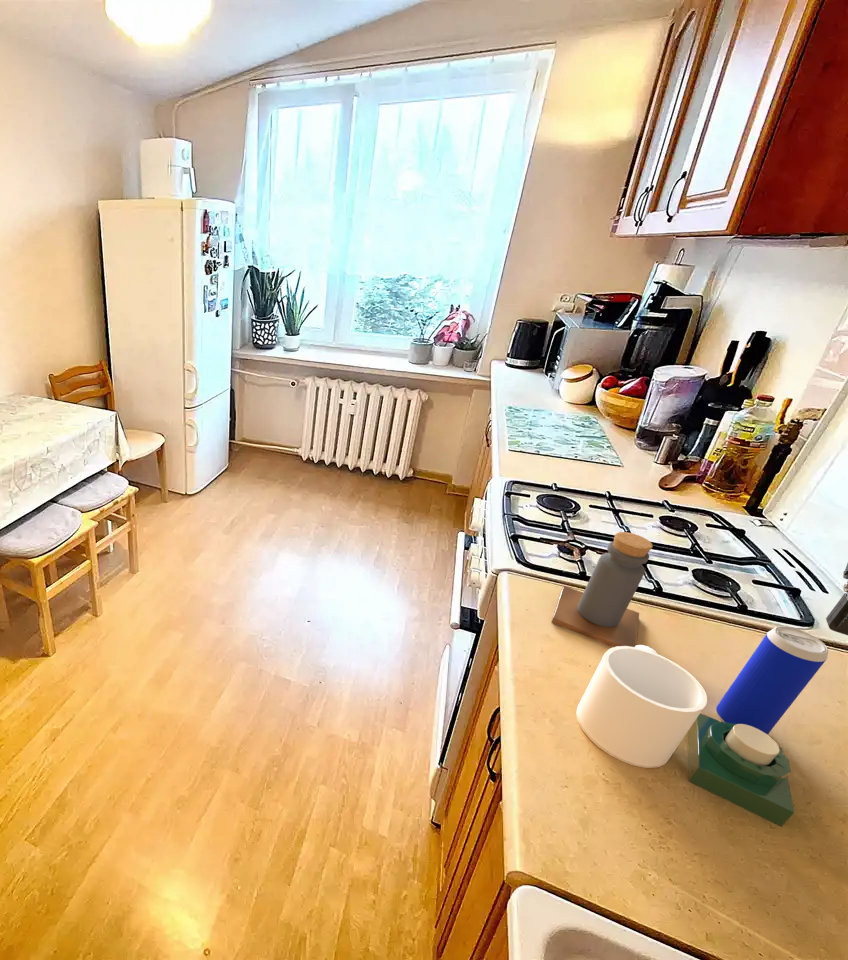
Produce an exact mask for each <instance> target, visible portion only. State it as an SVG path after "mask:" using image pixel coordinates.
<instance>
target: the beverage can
mask: <svg viewBox="0 0 848 960" xmlns="http://www.w3.org/2000/svg"><path fill="white" fill-rule="evenodd" d="M828 653H829V649H828V647H827V645H826V644H825V643H824V642H823V641H822V640H820V639H819V638H818V637H816V636H814V635H812V634H810V633H809V632H806V631H804V630H801V629H799V628H796V627H792V626H788V625H779V626H775V627H774V628H772V629H770V630H769V631H767V632H766V634H765V635H764V637H763V639H761V641H760V643H759V644H758V645H757V647H756V648H755V650H754V651H753V653H752V654H751V656H750V657H749V659H747V661H746V663H745V664H744V666H743V667H742V669H741V670H740V672H739V673H738V674H737V676H736V677H735V679H734V680H733V682H732V683H731V685H730V686H729V688H728V689H727V691H726V692H725V693H724V695H723V696H722V698H721V699H720V701H719V703H718V704H717V705H716V707H715V709H716V714H717V716H718V718H719V719H720V722H727V723H734V724H745V725H749V726H752V727H755V728H757V729H759V730H761V731H762V732H764V733H766V734H767V735H768V736H769V734H770V732H772V730H773V729H774V727H775V726H776V725H777V723H778V722H779V721H780V720H781V718H783V716H784V714H785V713H786V712H787V711H788V709H790V707H791V705H792V704H793V703H794V702H795V701H796V699H797V698H798V697H799V695H800V694H801V693H802V692H803V690H804V689H805V688H806V687H807V685H808V684H809V683H810V682H811V680H812V679H813V678H814V677H815V675H816V674H817V673H818V671H819V670H820V669H821V668H822V667H823V665H824V664H825V662H827V660H828Z"/></svg>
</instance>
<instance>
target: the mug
mask: <svg viewBox="0 0 848 960" xmlns="http://www.w3.org/2000/svg"><path fill="white" fill-rule="evenodd" d="M707 695H708V694H707V693H706V691H705V688H704V686H702V684H701V683H700V682H699V681H698V679H697V678H695V676H693V675H692V674H691V673H690V672H689V671H687V670H686V669H685V668H683V666H681V665H679V664H678V663H676V662H675V661H673V660H670V659H668V658H667V657H665V656H663V655H660V654H658V653H657V651H656V650H655V649H654V648H652V647H651V646H648V645H644V644H636V646H635V647H630V646H616V647H611V648H609V649H608V650H606V651H605V652H604V654H603V656H602V658H601V659H600V662H599V664H598V666H597V668H596V670H595V672H594V674H593V676H592V678H591V679H590V682H589V684H588V686H587V687H586V689H585V692H584V694H583V696H582V697H581V699H580V702H579V703H578V705H577V708H576V712H575V714H576V720H577V722H578V724H579V726H580V728H581V730H582V731H583V733H584V734H585V735H586V737H587V738H588V739H589V740H590V742H592V743H593V744H594V745H595V746H596V747H598V748H599V749H600V750H602V751H603V752H605V753H606V754H608V755H609V756H611V757H612V758H614V759H616V760H619V761H621V762H623V763H625V764H627V765H631V766H634V767H638V768H639V767H640V768H644V769H652V768H654V769H655V768H660V767H661V766H665V765H666V764H667V763H668V761H669V760H670V759H671V757H672V756H673V754H674V753H675V751H676V750H677V748H678V747H679V745H680V744H681V742H682V741H683V740H684V738H685V736H686V735H687V734H688V730H689V729H690V727H691V726H692V724H693V723H694V722H695V720H696V719H697V717H698V716H699V714H700V713H701V714H702V711H703V710H704V709H705V707H706V705H707V704H708V696H707Z"/></svg>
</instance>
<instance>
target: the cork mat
mask: <svg viewBox="0 0 848 960" xmlns="http://www.w3.org/2000/svg"><path fill="white" fill-rule="evenodd" d="M583 593H584V591H581V590H577V589H575V588H571V587H569V586H566V585H563V586H562V588H561V591H560V594H559V597H558V600H557V603H556V606H555V610H554V613H553V615H552V619H551V624H554V625H557V626H560V627H563V628H564V629H567V630H569V631H572V632H574V633H577V634H580V635H582V636H584V637H587V638H589V639H591V640H593V641H594V640H595V641H596V642H599V643H602V644H604V645H607V646H609V647H611V648H613V647H616V646H630V647H635V646H636V645H637V639H638V638H637V637H638V630H639V619H640V612H638V611H635V610H633V609H629V608H627V609H626V611H625V613H624V615H623V616H622V618H621V620H620V622H619V624H618V625H617V626H615V627H604V626H600V625H597V624H595V623H592V622H590V621H588V620H587V619H585V618H584V617H583V616H582V615H581V614H580V613H579V611H578V604H579V602H580V600H581V598H582V595H583Z"/></svg>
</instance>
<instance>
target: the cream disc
mask: <svg viewBox="0 0 848 960" xmlns="http://www.w3.org/2000/svg"><path fill="white" fill-rule="evenodd" d="M725 742H726V744H727V745H728V746H729V747H730V749H731V750H733V751H734V752H735V753H737V754H738V755H739V756H741V757H742V758H744V759H746V760H748V761H750V762H752V763H755V764H757V765H762V766H766V765H769V764H770V763H771V762H772V761H773V759H774V758H775V757H776V756H777V755H778V753H779V751H780V750H779V747H780V746H779V744H778V743H777V742H776V741H775V740H774V739H773V738H772V737H771V736H770V735H769V734H768V735H767V734H766V733H764V732H762V731H761V730H759V729H757V728H755V727H752V726H749V725H745V724H736V725H734V726H733V728H732V729H731V730H730V732H729V733H728V734H727V736H726V737H725Z"/></svg>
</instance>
